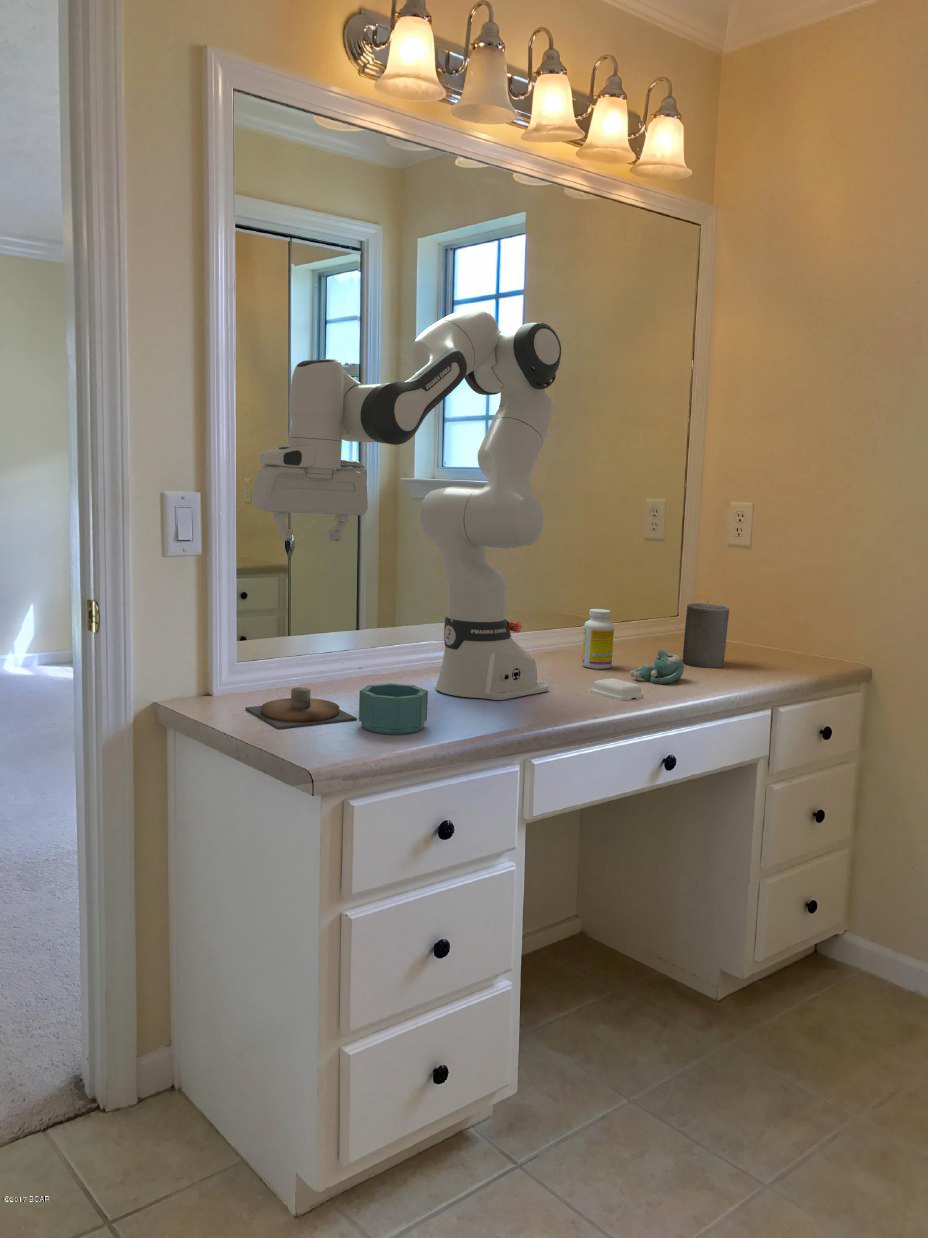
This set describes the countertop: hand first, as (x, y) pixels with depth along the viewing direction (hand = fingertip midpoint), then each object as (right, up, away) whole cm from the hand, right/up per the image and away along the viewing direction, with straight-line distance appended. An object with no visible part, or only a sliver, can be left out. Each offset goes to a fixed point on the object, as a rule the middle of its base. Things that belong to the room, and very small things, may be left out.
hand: (311, 540), depth 164 cm
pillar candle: (+82, -24, +64) cm, 107 cm away
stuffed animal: (+67, -26, +44) cm, 84 cm away
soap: (+56, -29, +28) cm, 68 cm away
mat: (-2, -29, +1) cm, 29 cm away
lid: (-2, -29, +1) cm, 29 cm away
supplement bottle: (+55, -24, +55) cm, 82 cm away
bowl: (+14, -31, -4) cm, 34 cm away
